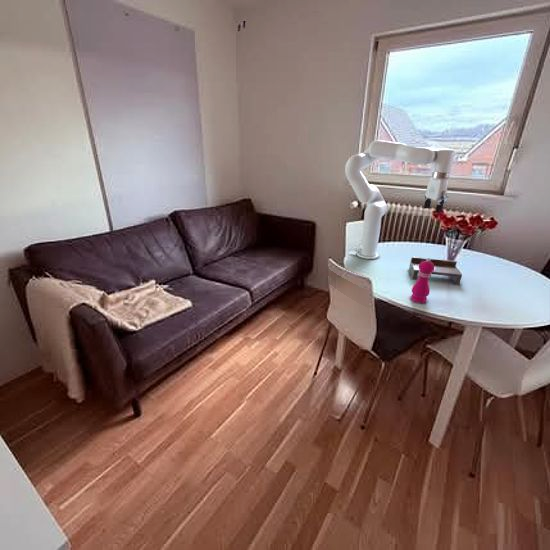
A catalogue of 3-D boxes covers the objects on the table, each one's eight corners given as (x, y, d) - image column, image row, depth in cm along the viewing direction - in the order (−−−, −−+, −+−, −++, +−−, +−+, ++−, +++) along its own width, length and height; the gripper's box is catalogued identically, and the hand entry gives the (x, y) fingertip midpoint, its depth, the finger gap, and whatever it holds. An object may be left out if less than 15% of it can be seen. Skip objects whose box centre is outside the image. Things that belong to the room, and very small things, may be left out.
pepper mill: (408, 300, 138) (417, 258, 129) (411, 294, 143) (421, 253, 135) (425, 305, 134) (436, 262, 126) (428, 298, 140) (439, 257, 131)
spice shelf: (412, 279, 158) (415, 265, 155) (408, 270, 169) (411, 256, 165) (459, 284, 154) (463, 270, 150) (452, 275, 164) (456, 261, 161)
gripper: (423, 173, 160) (416, 206, 168) (444, 178, 145) (436, 214, 152) (436, 173, 162) (428, 206, 169) (459, 178, 146) (449, 214, 153)
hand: (432, 210), depth 160 cm, fingers open, 9 cm apart
